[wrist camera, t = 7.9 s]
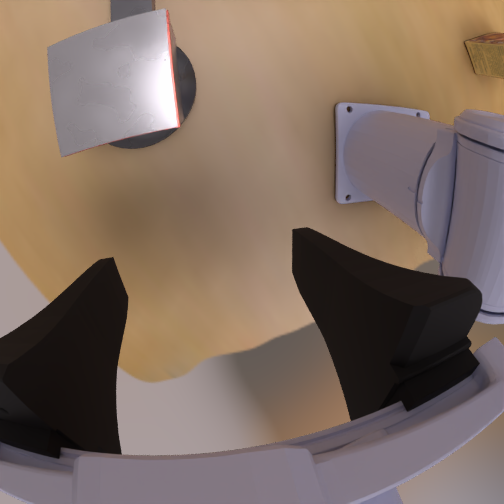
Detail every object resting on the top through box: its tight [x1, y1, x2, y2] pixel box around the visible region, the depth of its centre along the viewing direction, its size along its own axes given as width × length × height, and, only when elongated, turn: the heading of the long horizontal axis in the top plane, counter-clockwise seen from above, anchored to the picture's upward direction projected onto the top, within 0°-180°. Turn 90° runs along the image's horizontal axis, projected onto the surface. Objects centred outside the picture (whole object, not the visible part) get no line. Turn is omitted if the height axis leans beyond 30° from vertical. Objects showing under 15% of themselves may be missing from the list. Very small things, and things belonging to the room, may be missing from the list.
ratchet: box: [108, 0, 196, 149], centre depth 10 cm, size 7×19×5 cm, turn 5°
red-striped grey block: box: [47, 9, 184, 157], centre depth 10 cm, size 5×5×6 cm
